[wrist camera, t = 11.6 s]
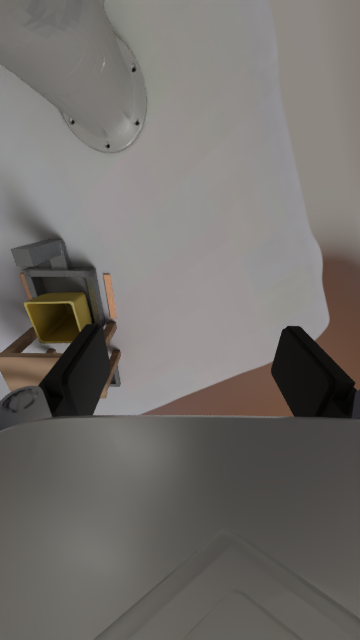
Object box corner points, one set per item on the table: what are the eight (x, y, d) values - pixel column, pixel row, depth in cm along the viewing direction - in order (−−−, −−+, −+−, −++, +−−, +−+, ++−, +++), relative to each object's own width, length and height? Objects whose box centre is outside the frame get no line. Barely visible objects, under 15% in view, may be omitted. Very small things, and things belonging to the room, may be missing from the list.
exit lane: (20, 273, 43) (19, 273, 43) (110, 274, 43) (109, 274, 43) (35, 316, 48) (35, 317, 48) (116, 317, 48) (116, 318, 48)
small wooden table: (37, 320, 48) (-7, 357, 37) (116, 321, 49) (96, 358, 37) (50, 355, 53) (13, 397, 42) (121, 356, 53) (105, 398, 42)
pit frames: (58, 363, 54) (56, 365, 54) (117, 363, 55) (116, 366, 54) (65, 383, 58) (63, 386, 57) (120, 383, 58) (119, 386, 57)
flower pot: (62, 321, 49) (39, 344, 41) (50, 284, 44) (21, 302, 36) (100, 320, 48) (84, 343, 41) (91, 283, 44) (72, 301, 36)
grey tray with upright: (21, 238, 40) (-26, 248, 31) (90, 239, 40) (63, 249, 31) (48, 323, 48) (19, 350, 39) (105, 323, 48) (88, 350, 40)
